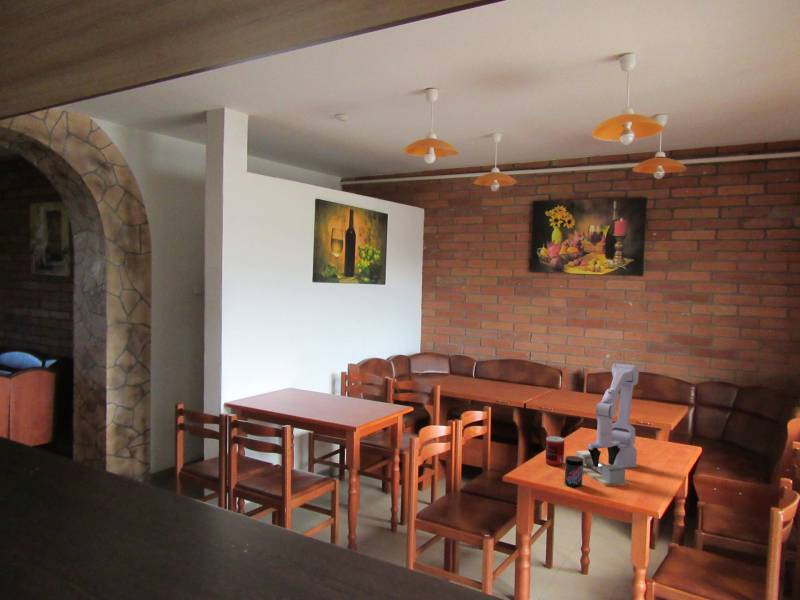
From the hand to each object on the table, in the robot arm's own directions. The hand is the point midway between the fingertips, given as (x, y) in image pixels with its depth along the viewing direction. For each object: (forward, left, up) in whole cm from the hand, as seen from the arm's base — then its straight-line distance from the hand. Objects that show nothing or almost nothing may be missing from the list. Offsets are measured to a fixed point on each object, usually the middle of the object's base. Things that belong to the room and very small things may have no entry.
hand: (603, 465), depth 234 cm
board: (0, -4, -5) cm, 6 cm away
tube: (0, -2, -4) cm, 4 cm away
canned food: (+11, -19, -5) cm, 23 cm away
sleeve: (0, -12, -5) cm, 13 cm away
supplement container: (+17, +6, -5) cm, 19 cm away
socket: (0, +7, -4) cm, 8 cm away
